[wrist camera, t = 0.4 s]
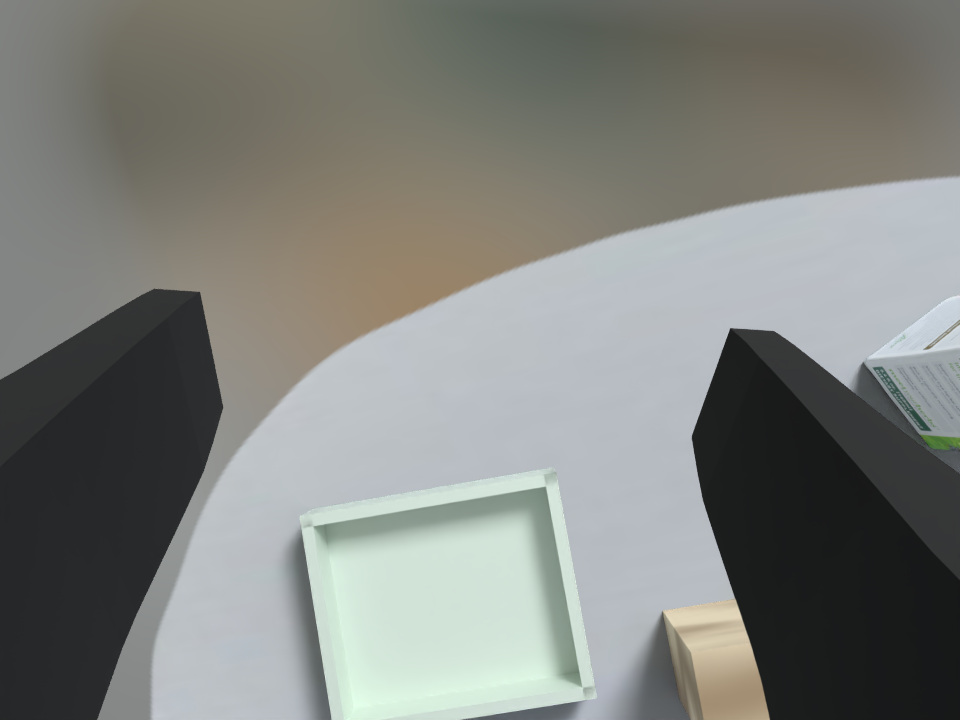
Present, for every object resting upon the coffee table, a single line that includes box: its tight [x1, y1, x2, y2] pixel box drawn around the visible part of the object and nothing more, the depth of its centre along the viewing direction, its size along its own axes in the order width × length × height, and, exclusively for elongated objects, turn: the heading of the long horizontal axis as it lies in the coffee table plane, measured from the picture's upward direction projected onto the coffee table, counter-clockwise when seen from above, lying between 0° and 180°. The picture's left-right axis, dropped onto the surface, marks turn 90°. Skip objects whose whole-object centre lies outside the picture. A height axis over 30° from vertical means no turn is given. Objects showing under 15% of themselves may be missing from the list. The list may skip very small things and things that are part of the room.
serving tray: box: [300, 467, 597, 720], centre depth 35 cm, size 11×13×2 cm
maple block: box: [663, 599, 770, 720], centre depth 33 cm, size 4×4×6 cm
